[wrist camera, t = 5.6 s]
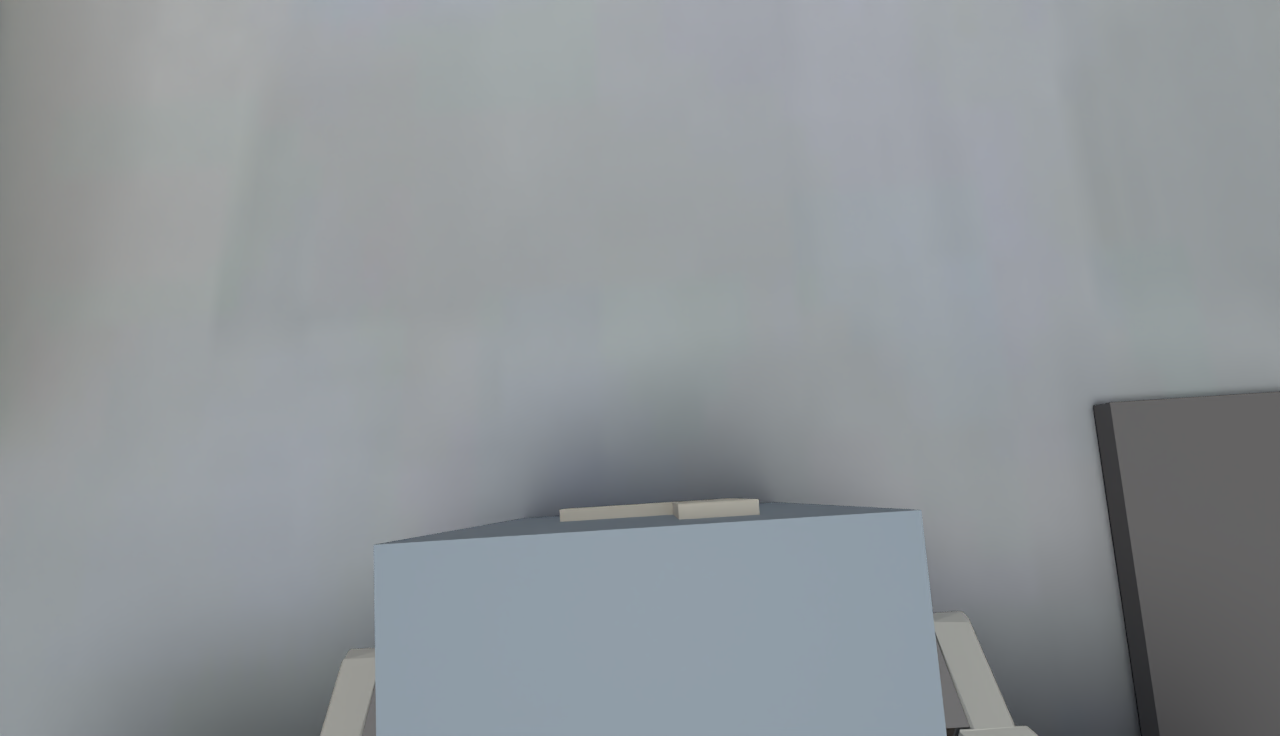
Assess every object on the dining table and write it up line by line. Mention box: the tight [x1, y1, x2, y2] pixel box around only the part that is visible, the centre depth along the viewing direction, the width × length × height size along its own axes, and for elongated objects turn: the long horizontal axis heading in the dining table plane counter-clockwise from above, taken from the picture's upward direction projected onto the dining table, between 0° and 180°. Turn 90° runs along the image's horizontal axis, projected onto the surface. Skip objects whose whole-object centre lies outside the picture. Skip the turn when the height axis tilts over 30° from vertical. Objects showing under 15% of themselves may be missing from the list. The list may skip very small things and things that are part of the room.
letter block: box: [374, 498, 947, 736], centre depth 12 cm, size 5×5×9 cm
